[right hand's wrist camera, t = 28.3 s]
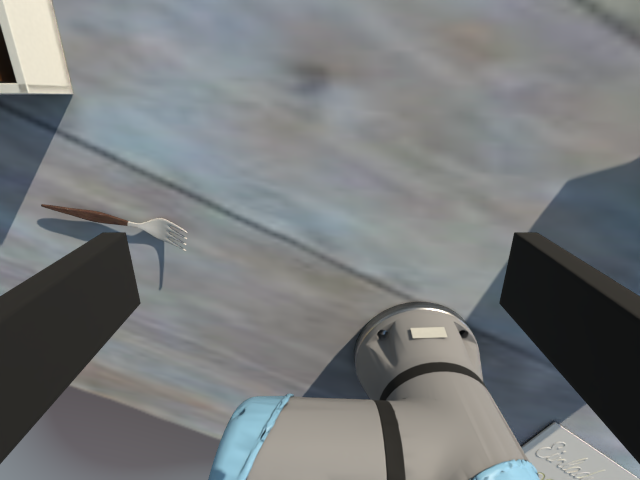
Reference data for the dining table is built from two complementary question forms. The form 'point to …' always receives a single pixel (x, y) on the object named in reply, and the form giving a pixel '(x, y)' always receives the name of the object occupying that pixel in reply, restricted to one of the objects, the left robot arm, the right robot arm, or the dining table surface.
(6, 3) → the bin
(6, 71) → the walnut block
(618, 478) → the invitation card
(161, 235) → the fork
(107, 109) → the dining table surface
